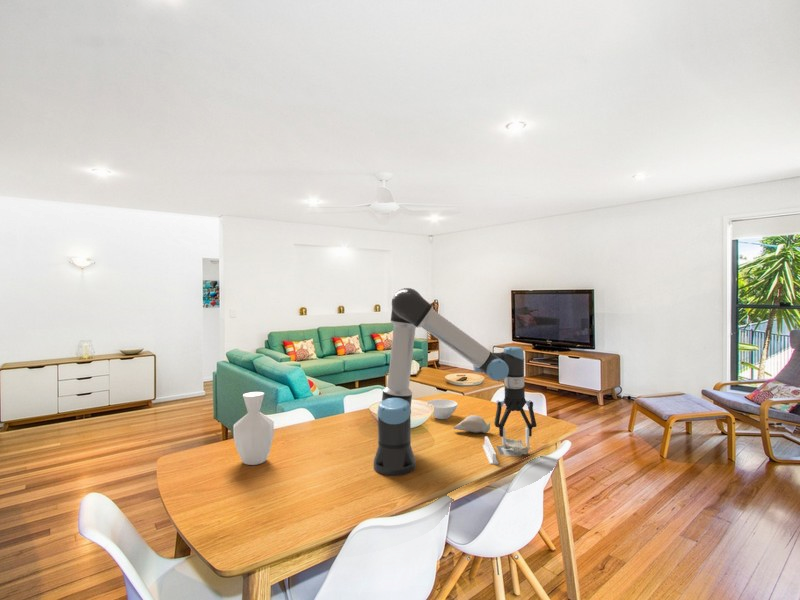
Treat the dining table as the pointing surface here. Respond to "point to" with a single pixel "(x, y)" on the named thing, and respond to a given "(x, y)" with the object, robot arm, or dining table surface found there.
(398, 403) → the robot arm
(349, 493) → the dining table surface
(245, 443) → the vase
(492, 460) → the divider wall
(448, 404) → the bowl
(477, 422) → the decorative bird
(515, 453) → the rest mat
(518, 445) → the coral
